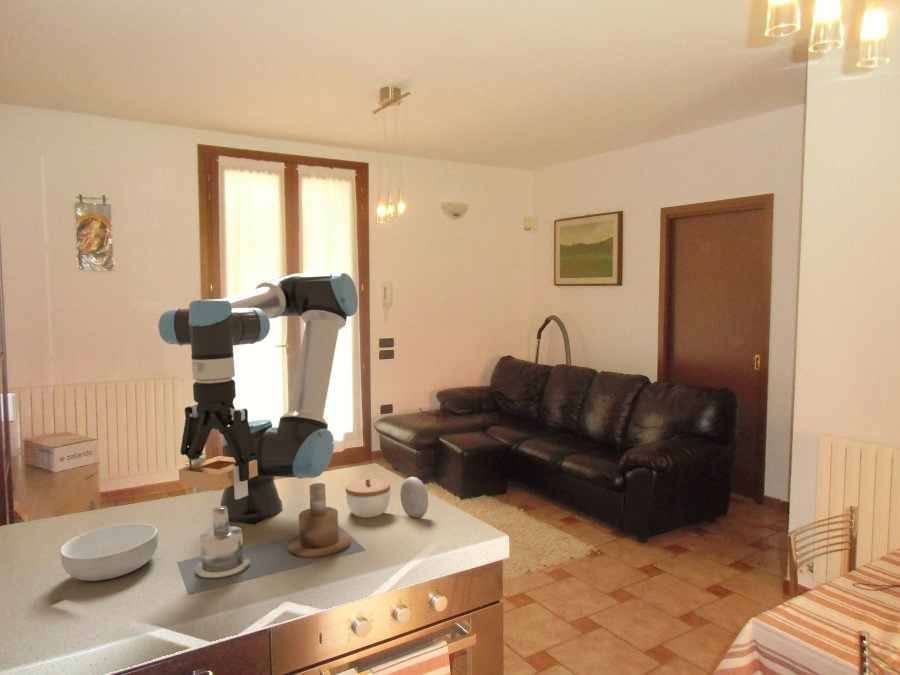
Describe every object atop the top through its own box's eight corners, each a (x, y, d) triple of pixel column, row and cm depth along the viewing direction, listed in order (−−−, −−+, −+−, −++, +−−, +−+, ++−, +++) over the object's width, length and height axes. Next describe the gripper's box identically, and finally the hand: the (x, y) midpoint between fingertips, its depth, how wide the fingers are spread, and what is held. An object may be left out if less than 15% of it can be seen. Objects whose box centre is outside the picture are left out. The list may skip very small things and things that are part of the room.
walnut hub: (274, 552, 124) (271, 491, 123) (313, 529, 136) (311, 473, 135) (326, 562, 119) (324, 498, 118) (362, 537, 130) (360, 479, 130)
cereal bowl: (97, 555, 128) (95, 522, 127) (175, 554, 127) (173, 522, 127) (40, 594, 111) (38, 557, 110) (129, 594, 110) (127, 556, 110)
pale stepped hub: (183, 574, 115) (180, 513, 114) (223, 553, 124) (220, 497, 123) (222, 583, 111) (219, 520, 110) (260, 561, 120) (258, 503, 119)
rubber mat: (188, 601, 107) (188, 594, 107) (177, 567, 120) (177, 561, 120) (366, 555, 124) (366, 549, 124) (339, 530, 138) (338, 525, 138)
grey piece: (431, 522, 142) (430, 480, 141) (419, 526, 140) (418, 483, 139) (410, 510, 150) (409, 471, 149) (398, 513, 148) (397, 473, 147)
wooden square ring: (179, 485, 114) (178, 469, 114) (219, 470, 123) (218, 455, 123) (219, 490, 110) (218, 474, 110) (257, 475, 119) (257, 460, 119)
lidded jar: (337, 517, 146) (336, 479, 146) (371, 505, 154) (370, 469, 154) (365, 528, 139) (364, 488, 139) (400, 515, 147) (399, 477, 146)
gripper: (155, 380, 116) (162, 493, 118) (245, 385, 107) (251, 507, 108) (186, 375, 123) (193, 481, 125) (274, 379, 114) (279, 494, 115)
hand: (220, 493), depth 117 cm, fingers closed on wooden square ring, 10 cm apart
